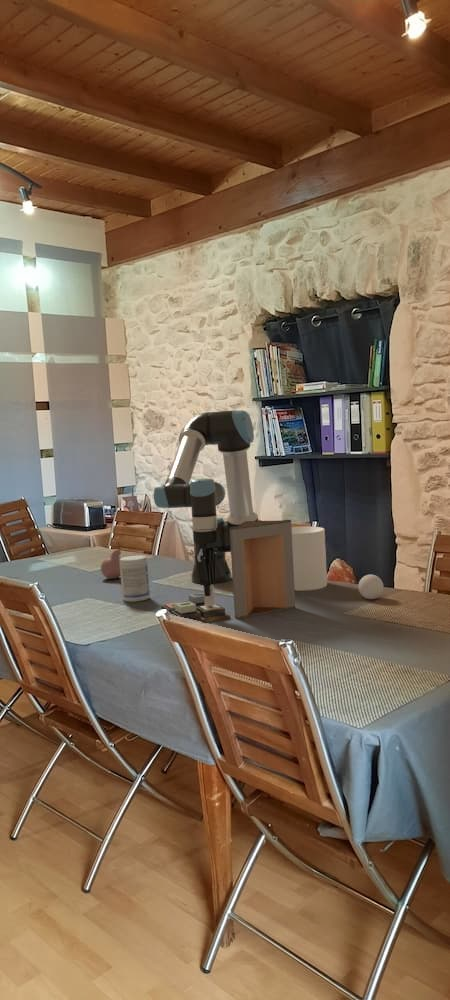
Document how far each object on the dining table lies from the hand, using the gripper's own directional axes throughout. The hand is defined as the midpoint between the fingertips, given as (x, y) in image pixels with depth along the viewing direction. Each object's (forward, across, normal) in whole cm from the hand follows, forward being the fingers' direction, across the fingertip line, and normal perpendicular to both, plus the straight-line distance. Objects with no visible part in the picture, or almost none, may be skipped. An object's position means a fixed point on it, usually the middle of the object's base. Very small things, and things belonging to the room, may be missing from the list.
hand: (209, 605), depth 233 cm
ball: (+4, -30, +44) cm, 53 cm away
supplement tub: (+4, -19, -36) cm, 41 cm away
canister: (+4, -46, +17) cm, 50 cm away
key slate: (0, -6, -6) cm, 9 cm away
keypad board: (+4, 0, -6) cm, 7 cm away
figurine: (+4, -51, -62) cm, 80 cm away
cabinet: (+4, -10, +12) cm, 17 cm away
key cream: (+2, 0, 0) cm, 2 cm away
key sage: (0, +6, -6) cm, 8 cm away
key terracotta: (+2, -1, -12) cm, 12 cm away
